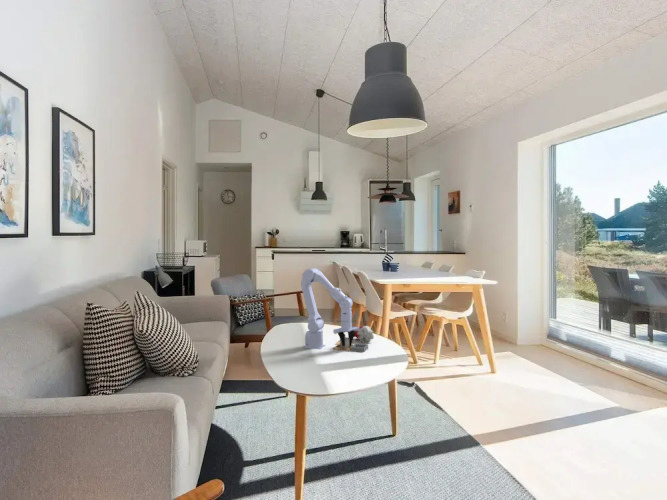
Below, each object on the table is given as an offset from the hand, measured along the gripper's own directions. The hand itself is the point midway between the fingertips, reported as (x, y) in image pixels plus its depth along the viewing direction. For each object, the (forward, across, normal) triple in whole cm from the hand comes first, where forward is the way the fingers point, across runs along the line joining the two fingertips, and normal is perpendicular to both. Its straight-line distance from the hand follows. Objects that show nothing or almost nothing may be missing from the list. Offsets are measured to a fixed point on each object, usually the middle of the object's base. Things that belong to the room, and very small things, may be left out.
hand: (346, 345), depth 232 cm
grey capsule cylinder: (+2, 0, +5) cm, 5 cm away
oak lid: (+3, +4, +12) cm, 13 cm away
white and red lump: (+3, +17, +14) cm, 22 cm away
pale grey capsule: (+2, 0, 0) cm, 2 cm away
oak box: (+3, 0, +2) cm, 4 cm away
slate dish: (+3, +6, -4) cm, 7 cm away
